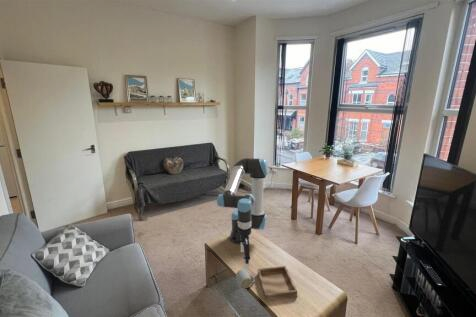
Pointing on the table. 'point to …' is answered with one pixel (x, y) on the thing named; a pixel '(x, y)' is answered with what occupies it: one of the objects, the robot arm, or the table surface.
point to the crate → (276, 283)
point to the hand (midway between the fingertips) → (244, 259)
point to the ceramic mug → (244, 278)
